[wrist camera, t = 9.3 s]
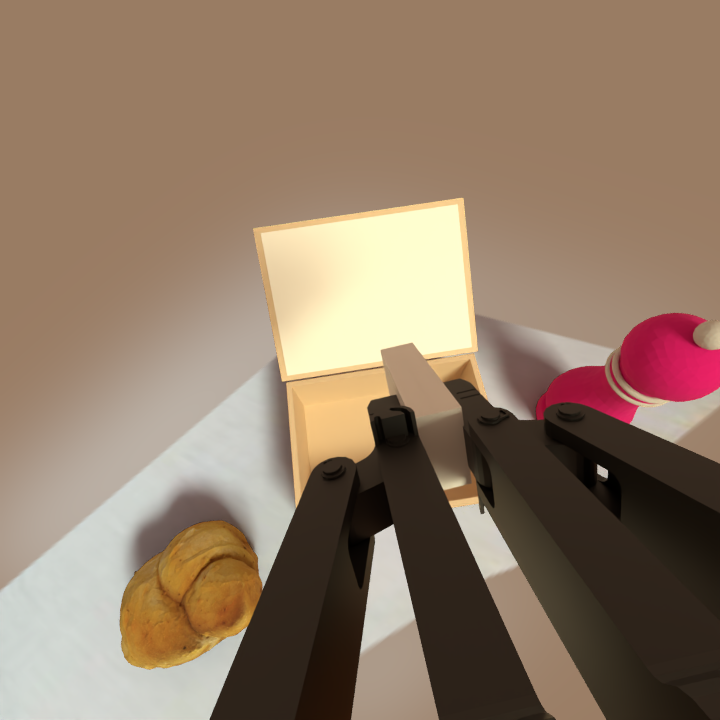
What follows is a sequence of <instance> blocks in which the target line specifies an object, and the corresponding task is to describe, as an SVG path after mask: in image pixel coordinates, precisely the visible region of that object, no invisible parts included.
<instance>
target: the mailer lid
mask: <svg viewBox="0 0 720 720" xmlns="http://www.w3.org/2000/svg"><path fill="white" fill-rule="evenodd" d="M464 211H465V210H464V199H463V198H458V199H451V200H444V201H437V202H431V203H424V204H417V205H410V206H403V207H396V208H390V209H383V210H376V211H369V212H362V213H356V214H349V215H342V216H335V217H328V218H322V219H315V220H308V221H301V222H294V223H287V224H281V225H274V226H267V227H260V228H254V229H253V231H254V236H255V241H256V246H257V252H258V257H259V263H260V268H261V273H262V278H263V283H264V289H265V294H266V299H267V305H268V310H269V315H270V321H271V325H272V331H273V336H274V341H275V347H276V351H277V357H278V363H279V368H280V373H281V378H282V382H283V381H290V380H296V379H303V378H309V377H315V376H322V375H328V374H335V373H341V372H348V371H354V370H360V369H367V368H373V367H380V366H383V361H382V356H381V351H380V350H382V349H386V348H390V347H395V346H399V345H403V344H407V343H412V342H413V344H414V345H415V346H416V348H417V349H418V350H419V352H420V353H421V354H422V356H423V357H424V358H425V359H431V358H437V357H444V356H450V355H457V354H463V353H470V352H476V351H478V346H477V336H476V325H475V315H474V304H473V294H472V284H471V273H470V263H469V252H468V241H467V231H466V221H465V212H464Z"/></svg>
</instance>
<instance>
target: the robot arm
mask: <svg viewBox="0 0 720 720" xmlns="http://www.w3.org/2000/svg"><path fill="white" fill-rule="evenodd" d="M380 351H381V356H382V361H383V366H384V370H385V375H386V380H387V385H388V390H389V394H390V396H387V397H383V398H379V399H374V400H371V401H370V403H369V405H368V407H367V410H368V414H369V419H370V424H371V429H372V433H373V437H374V441H375V447H374V450H373V451H372V452H371V454H370V455H369V456H367V457H366V458H365V459H363V460H361V461H359V462H357V463H355V462H354V461H353V460H352V459H350V458H347V457H334V458H329V459H327V460H325V461H323V462H321V463H319V464H318V465H317V466H316V467H315V468H314V469H313V471H312V472H311V474H310V476H309V479H308V481H307V483H306V486H305V488H304V491H303V493H302V496H301V498H300V500H299V503H298V505H297V508H296V510H295V513H294V515H293V518H292V520H291V522H290V525H289V527H288V530H287V532H286V535H285V537H284V539H283V542H282V544H281V547H280V549H279V552H278V554H277V556H276V559H275V561H274V564H273V566H272V569H271V571H270V574H269V576H268V578H267V581H266V583H265V586H264V588H263V591H262V593H261V595H260V598H259V600H258V603H257V605H256V608H255V610H254V612H253V615H252V617H251V620H250V622H249V625H248V627H247V630H246V632H245V634H244V637H243V639H242V642H241V644H240V647H239V649H238V651H237V654H236V656H235V659H234V661H233V664H232V666H231V668H230V671H229V673H228V676H227V678H226V681H225V683H224V686H223V688H222V690H221V693H220V695H219V698H218V700H217V703H216V705H215V707H214V710H213V712H212V715H211V717H210V720H351V715H352V708H353V700H354V693H355V685H356V678H357V670H358V663H359V656H360V649H361V641H362V634H363V626H364V619H365V611H366V604H367V597H368V589H369V582H370V574H371V567H372V560H373V552H374V545H375V537H374V535H375V534H376V533H378V532H380V531H382V530H384V529H386V528H387V527H389V526H391V525H393V524H394V527H395V532H396V536H397V540H398V545H399V549H400V553H401V558H402V562H403V566H404V570H405V575H406V579H407V583H408V588H409V592H410V596H411V601H412V605H413V609H414V614H415V618H416V622H417V626H418V631H419V635H420V639H421V644H422V648H423V652H424V657H425V661H426V665H427V669H428V674H429V678H430V682H431V687H432V691H433V695H434V699H435V704H436V708H437V713H438V716H439V720H556V719H555V718H554V717H553V716H552V715H550V714H549V713H547V712H546V711H545V710H544V708H543V707H542V705H541V703H540V701H539V699H538V697H537V695H536V693H535V691H534V689H533V686H532V684H531V682H530V680H529V678H528V675H527V673H526V671H525V669H524V667H523V664H522V662H521V660H520V658H519V655H518V653H517V651H516V649H515V647H514V644H513V642H512V640H511V638H510V636H509V634H508V631H507V629H506V627H505V625H504V622H503V620H502V618H501V616H500V614H499V611H498V609H497V607H496V605H495V603H494V600H493V598H492V596H491V594H490V592H489V589H488V587H487V585H486V583H485V580H484V578H483V576H482V574H481V572H480V569H479V567H478V565H477V563H476V561H475V558H474V556H473V554H472V552H471V550H470V547H469V545H468V543H467V541H466V539H465V536H464V534H463V532H462V530H461V527H460V525H459V523H458V521H457V519H456V516H455V514H454V512H453V510H452V508H451V505H450V503H449V501H448V499H447V497H446V494H445V492H444V490H446V489H450V488H455V487H459V486H463V485H467V484H471V483H472V480H471V473H470V470H471V471H472V473H473V475H474V477H475V478H476V485H477V493H478V500H479V508H480V512H481V514H484V505H485V507H486V508H487V510H488V512H489V514H490V515H491V517H492V519H493V521H494V523H495V524H496V526H497V528H498V530H499V531H500V533H501V535H502V537H503V538H504V540H505V542H506V544H507V545H508V547H509V549H510V551H511V552H512V554H513V556H514V558H515V559H516V561H517V563H518V565H519V566H520V568H521V570H522V572H523V574H524V575H525V577H526V579H527V581H528V582H529V584H530V586H531V588H532V589H533V591H534V593H535V595H536V596H537V598H538V600H539V602H540V603H541V605H542V607H543V609H544V610H545V612H546V614H547V616H548V618H549V619H550V621H551V623H552V625H553V626H554V628H555V630H556V632H557V633H558V635H559V637H560V639H561V640H562V642H563V644H564V646H565V647H566V649H567V651H568V653H569V654H570V656H571V658H572V660H573V661H574V663H575V665H576V667H577V668H578V670H579V672H580V674H581V675H582V677H583V679H584V681H585V683H586V684H587V686H588V688H589V690H590V691H591V693H592V695H593V697H594V698H595V700H596V702H597V704H598V706H599V707H600V709H601V711H602V712H603V714H604V716H605V718H606V720H720V464H719V463H717V462H715V461H712V460H710V459H708V458H705V457H703V456H701V455H699V454H696V453H694V452H692V451H689V450H687V449H685V448H683V447H680V446H678V445H676V444H674V443H671V442H669V441H667V440H664V439H662V438H660V437H658V436H655V435H653V434H651V433H648V432H646V431H644V430H642V429H639V428H637V427H635V426H632V425H630V424H628V423H626V422H623V421H621V420H619V419H616V418H614V417H612V416H610V415H607V414H605V413H603V412H600V411H598V410H596V409H594V408H591V407H589V406H586V405H583V404H579V403H572V402H565V403H564V402H562V403H557V404H553V405H551V406H549V407H547V408H546V409H545V411H544V413H543V414H544V420H518V419H517V418H516V417H515V416H514V415H513V414H512V413H511V412H509V411H508V410H506V409H502V408H495V407H493V406H492V405H491V404H490V403H489V402H488V401H487V400H486V399H485V398H484V397H483V395H482V394H480V392H479V391H478V390H476V388H475V387H474V386H473V385H472V384H471V383H470V382H468V381H466V380H463V379H455V380H451V381H447V382H442V381H441V379H440V378H439V377H438V375H437V374H436V373H435V371H434V370H433V369H432V368H431V366H430V365H429V364H428V362H427V361H426V360H425V358H424V357H423V356H422V354H421V353H420V352H419V350H418V349H417V348H416V346H415V345H414V344H413V342H412V343H407V344H403V345H399V346H395V347H390V348H386V349H382V350H380ZM597 464H598V465H600V466H601V467H603V468H605V469H607V470H608V478H604V477H602V476H601V475H599V474H597Z"/></svg>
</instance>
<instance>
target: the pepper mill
mask: <svg viewBox="0 0 720 720" xmlns="http://www.w3.org/2000/svg"><path fill="white" fill-rule="evenodd" d="M719 387H720V321H717V320H712V321H706V320H705V319H702V318H700V317H697V316H694V315H690V314H682V313H670V314H662V315H658V316H655V317H651V318H649V319H647V320H645V321H643V322H641V323H640V324H638V325H637V326H635V327H634V328H633V329H632V330H631V331H630V333H629V334H628V335H627V336H626V337H625V339H624V341H623V344H622V346H620V347H619V348H618V349H616V350H615V351H613V352H612V353H611V354H610V356H609V357H608V359H607V361H606V364H605V366H585V367H579V368H575V369H572V370H569V371H567V372H565V373H563V374H561V375H560V376H558V377H557V378H556V379H554V381H553V382H552V383H551V385H550V386H549V388H548V390H547V392H546V393H544V394H543V395H542V396H541V397H540V399H539V401H538V403H537V406H536V417H537V420H544V414H543V413H544V411H545V409H546V408H547V407H549V406H551V405H553V404H557V403H562V402H564V403H565V402H572V403H579V404H583V405H586V406H589V407H591V408H594V409H596V410H598V411H600V412H603V413H605V414H607V415H610V416H612V417H614V418H616V419H619V420H621V421H623V422H626V423H628V424H630V422H631V421H632V419H633V417H634V415H635V412H636V410H637V408H638V407H639V406H641V407H656V406H660V405H663V404H665V403H667V402H670V401H675V402H684V401H690V400H695V399H698V398H702V397H704V396H706V395H708V394H710V393H712V392H713V391H715V390H717V389H718V388H719Z"/></svg>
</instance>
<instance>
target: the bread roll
mask: <svg viewBox="0 0 720 720" xmlns="http://www.w3.org/2000/svg"><path fill="white" fill-rule="evenodd" d="M261 593H262V582H261V579H260V577H259V570H258V558H257V555H256V554H255V553H254V552H253V550H252V549H251V547H250V545H249V544H248V542H247V540H246V538H245V536H244V534H243V533H242V532H241V531H239V530H238V529H237V528H236V527H234V526H233V525H231V524H229V523H227V522H225V521H220V520H217V521H209V522H201V523H198V524H195V525H193V526H191V527H189V528H187V529H185V530H183V531H182V532H181V533H179V534H178V535H176V536H175V537H174V539H173V540H172V541H171V542H170V543H169V545H168V546H167V548H166V549H165V550H164V551H163V552H161V553H159V554H157V555H156V556H154V557H153V558H152V559H150V560H149V561H147V562H146V563H145V564H144V565H143V566H142V567H141V568H140V569H139V570H138V571H137V572H136V571H135V574H134V576H133V578H132V579H131V580H130V582H129V583H128V585H127V587H126V589H125V591H124V594H123V598H122V604H121V608H120V631H121V634H122V641H121V647H122V651H123V653H124V657H125V659H126V660H127V661H128V662H129V663H130V664H132V665H134V666H136V667H141V668H146V669H149V670H151V669H153V668H155V667H161V668H169V667H172V666H177V665H180V664H183V663H186V662H188V661H191V660H193V659H195V658H197V657H199V656H200V655H202V654H203V653H205V652H207V651H209V650H210V649H211V648H213V647H214V646H215V645H216V644H218V643H219V642H221V641H222V640H223V639H225V638H226V637H229V636H234V635H236V634H238V633H239V632H241V631H242V630H243V629H244V628H246V627H247V626H248V625H249V622H250V620H251V617H252V615H253V612H254V610H255V608H256V605H257V603H258V600H259V598H260V595H261Z"/></svg>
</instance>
